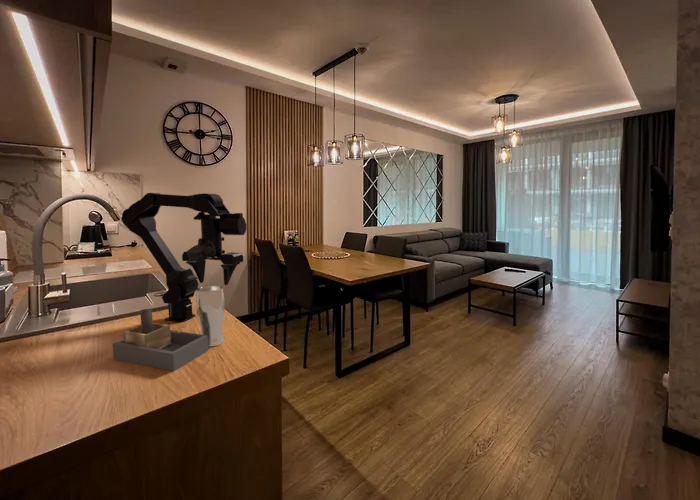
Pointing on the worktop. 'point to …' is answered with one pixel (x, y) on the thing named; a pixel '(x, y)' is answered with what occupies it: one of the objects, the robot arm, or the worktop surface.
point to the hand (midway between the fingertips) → (213, 283)
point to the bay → (164, 351)
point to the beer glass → (211, 313)
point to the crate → (148, 333)
